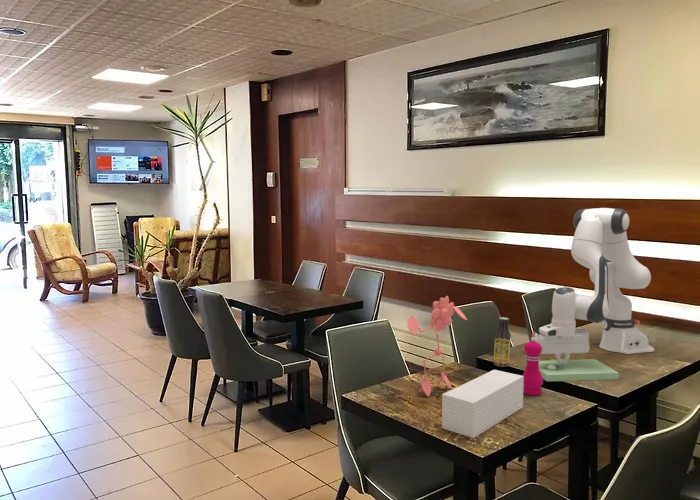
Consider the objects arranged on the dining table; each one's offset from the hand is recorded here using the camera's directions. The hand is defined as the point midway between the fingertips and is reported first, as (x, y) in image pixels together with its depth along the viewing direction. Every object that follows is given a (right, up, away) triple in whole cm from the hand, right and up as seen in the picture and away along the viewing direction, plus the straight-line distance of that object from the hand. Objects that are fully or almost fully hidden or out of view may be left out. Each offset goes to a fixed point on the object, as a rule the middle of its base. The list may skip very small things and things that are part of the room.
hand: (562, 364), depth 220 cm
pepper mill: (-19, -6, -21) cm, 28 cm away
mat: (+4, -4, +1) cm, 5 cm away
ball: (-4, -2, 0) cm, 5 cm away
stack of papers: (-41, -9, -42) cm, 59 cm away
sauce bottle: (-21, -3, +11) cm, 24 cm away
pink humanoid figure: (-51, -6, -22) cm, 55 cm away
